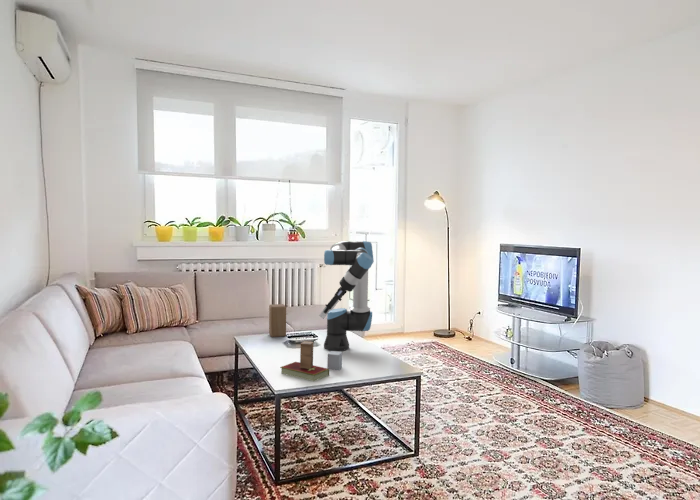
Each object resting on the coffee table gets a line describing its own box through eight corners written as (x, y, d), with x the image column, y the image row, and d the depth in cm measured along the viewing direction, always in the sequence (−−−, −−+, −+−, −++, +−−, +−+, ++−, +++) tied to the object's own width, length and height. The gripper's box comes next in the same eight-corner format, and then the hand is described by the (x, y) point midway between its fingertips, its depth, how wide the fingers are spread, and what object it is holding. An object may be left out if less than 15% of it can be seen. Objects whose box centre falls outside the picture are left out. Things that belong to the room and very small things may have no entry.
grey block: (330, 366, 250) (330, 351, 250) (341, 367, 249) (342, 352, 248) (327, 369, 244) (327, 354, 244) (338, 370, 243) (338, 355, 242)
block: (268, 334, 320) (269, 304, 319) (283, 333, 323) (283, 303, 322) (270, 337, 310) (271, 306, 309) (286, 336, 313) (286, 306, 312)
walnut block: (303, 365, 239) (303, 341, 239) (312, 365, 238) (313, 342, 238) (300, 367, 234) (300, 343, 234) (309, 368, 233) (310, 344, 233)
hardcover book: (296, 368, 247) (296, 360, 247) (329, 376, 235) (329, 368, 235) (280, 374, 237) (280, 366, 237) (314, 383, 225) (314, 374, 225)
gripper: (349, 292, 219) (323, 325, 226) (361, 279, 243) (338, 309, 250) (336, 282, 220) (311, 315, 227) (350, 270, 244) (327, 300, 250)
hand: (325, 312), depth 238 cm, fingers open, 13 cm apart
